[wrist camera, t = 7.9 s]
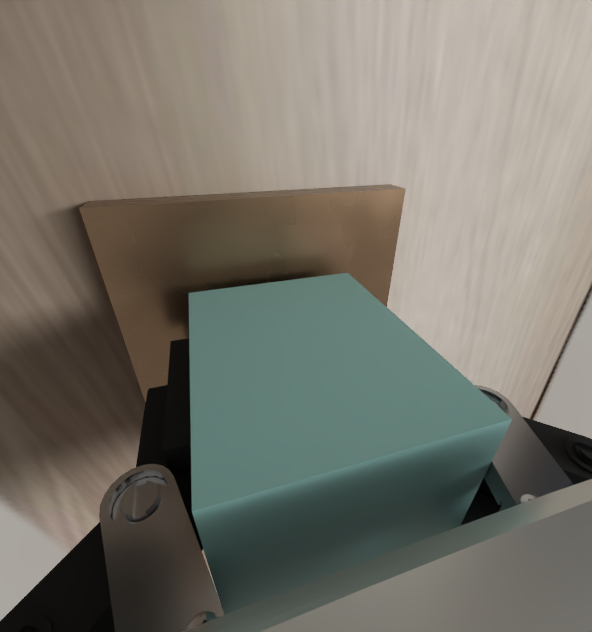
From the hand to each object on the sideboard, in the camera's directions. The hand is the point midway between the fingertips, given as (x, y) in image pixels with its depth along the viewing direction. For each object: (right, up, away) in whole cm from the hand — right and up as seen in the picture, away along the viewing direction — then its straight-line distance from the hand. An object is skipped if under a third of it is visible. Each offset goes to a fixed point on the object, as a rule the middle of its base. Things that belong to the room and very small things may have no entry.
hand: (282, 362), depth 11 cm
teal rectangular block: (0, 0, +1) cm, 1 cm away
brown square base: (-1, +1, +2) cm, 3 cm away
